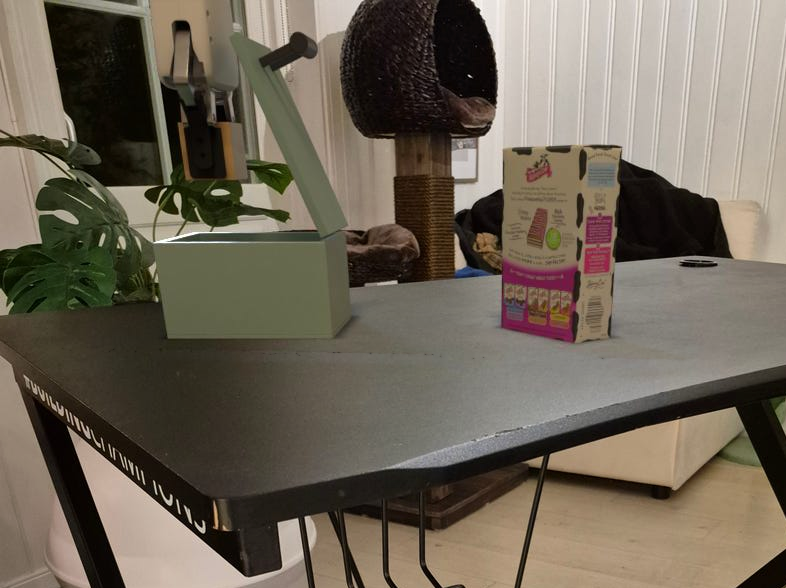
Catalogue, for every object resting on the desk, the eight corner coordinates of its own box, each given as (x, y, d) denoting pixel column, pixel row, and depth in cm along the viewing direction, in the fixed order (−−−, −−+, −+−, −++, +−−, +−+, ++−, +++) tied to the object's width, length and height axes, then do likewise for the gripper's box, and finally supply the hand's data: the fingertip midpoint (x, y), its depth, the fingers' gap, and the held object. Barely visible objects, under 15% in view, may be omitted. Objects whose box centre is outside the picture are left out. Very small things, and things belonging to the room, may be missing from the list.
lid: (228, 36, 74) (286, 5, 73) (263, 52, 85) (314, 25, 84) (320, 238, 81) (375, 213, 80) (341, 228, 92) (389, 206, 91)
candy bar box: (613, 342, 85) (626, 144, 77) (574, 349, 82) (583, 144, 75) (536, 327, 93) (540, 145, 85) (498, 332, 90) (499, 145, 83)
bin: (168, 344, 85) (152, 242, 81) (206, 322, 96) (193, 232, 92) (333, 344, 85) (325, 242, 81) (351, 322, 96) (345, 231, 92)
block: (185, 180, 82) (177, 122, 80) (200, 179, 86) (192, 124, 84) (236, 180, 82) (229, 122, 80) (248, 179, 86) (241, 123, 84)
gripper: (172, -47, 83) (202, 176, 92) (102, -91, 68) (146, 180, 77) (254, -47, 83) (276, 175, 92) (201, -92, 68) (233, 179, 77)
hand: (216, 175), depth 84 cm, fingers closed on block, 4 cm apart
